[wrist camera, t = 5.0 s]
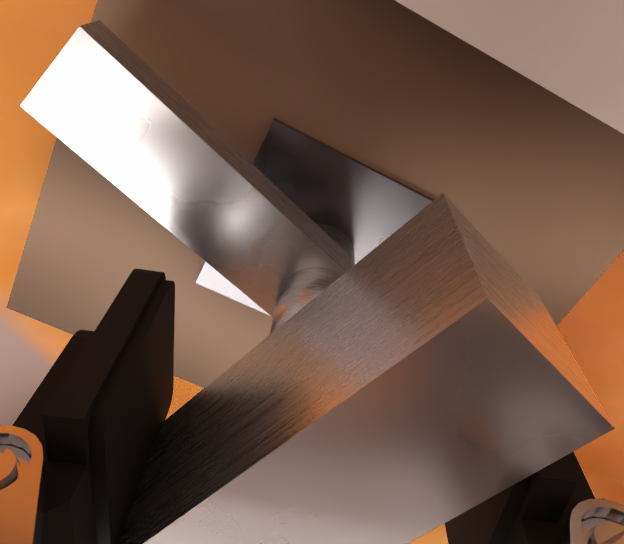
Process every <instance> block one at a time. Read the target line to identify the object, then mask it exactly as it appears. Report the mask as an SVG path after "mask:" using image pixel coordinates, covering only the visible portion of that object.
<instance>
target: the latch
mask: <svg viewBox="0 0 624 544" xmlns="http://www.w3.org/2000/svg"><path fill="white" fill-rule="evenodd" d="M20 106H21V107H22V108H23V109H24V110H25V111H27V112H28V113H29V114H30V115H31V116H33V117H34V118H35V119H36V120H37V121H39V122H40V123H41V124H42V125H43V126H44V127H46V128H47V129H48V130H49V131H50V132H52V133H53V134H54V135H55V136H56V137H58V138H59V139H60V140H61V141H62V142H64V143H65V144H66V145H67V146H68V147H70V148H71V149H72V150H73V151H74V152H76V153H77V154H78V155H79V156H80V157H82V158H83V159H84V160H85V161H86V162H87V163H89V164H90V165H91V166H92V167H93V168H95V169H96V170H97V171H98V172H99V173H101V174H102V175H103V176H104V177H105V178H107V179H108V180H109V181H110V182H111V183H113V184H114V185H115V186H116V187H117V188H119V189H120V190H121V191H122V192H123V193H125V194H126V195H127V196H128V197H129V198H130V199H132V200H133V201H134V202H135V203H136V204H138V205H139V206H140V207H141V208H142V209H144V210H145V211H146V212H147V213H148V214H150V215H151V216H152V217H153V218H154V219H156V220H157V221H158V222H159V223H160V224H162V225H163V226H164V227H165V228H166V229H167V230H169V231H170V232H171V233H172V234H173V235H175V236H176V237H177V238H178V239H179V240H181V241H182V242H183V243H184V244H185V245H187V246H188V247H189V248H190V249H191V250H193V251H194V252H195V253H196V254H197V255H199V256H200V257H201V258H202V259H203V260H205V261H206V262H207V263H208V264H209V265H210V266H212V267H213V268H214V269H215V270H216V271H218V272H219V273H220V274H221V275H222V276H224V277H225V278H226V279H227V280H228V281H230V282H231V283H232V284H233V285H234V286H236V287H237V288H238V289H239V290H240V291H242V292H243V293H244V294H245V295H246V296H248V297H249V298H250V299H251V300H252V301H253V302H255V303H256V304H257V305H258V306H259V307H261V308H262V309H263V310H264V311H265V312H267V313H268V314H269V315H270V316H271V317H273V319H272V325H271V331H270V335H269V336H268V337H266V338H265V339H264V340H263V341H261V342H260V343H259V344H258V345H257V346H255V347H254V348H253V349H252V350H250V351H249V352H248V353H247V354H246V355H244V356H243V357H242V358H241V359H239V360H238V361H237V362H236V363H235V364H233V365H232V366H231V367H230V368H229V369H227V370H226V371H225V372H224V373H222V374H221V375H220V376H219V377H218V378H216V379H215V380H214V381H213V382H211V383H210V384H209V385H208V386H207V387H205V388H204V389H203V390H202V391H200V392H199V393H198V394H197V395H196V396H194V397H193V398H192V399H191V400H190V401H188V402H187V403H186V404H185V405H183V406H182V407H181V408H180V409H179V410H177V411H176V412H175V413H174V414H172V415H171V416H170V417H169V418H168V419H166V420H165V421H164V422H163V423H162V425H161V428H160V431H159V434H158V436H157V439H156V442H155V445H154V447H153V450H152V453H151V455H150V458H149V461H148V464H147V466H146V469H145V472H144V475H143V477H142V480H141V483H140V486H139V488H138V491H137V494H136V497H135V499H134V502H133V505H132V508H131V510H130V513H129V516H128V519H127V521H126V524H125V527H124V530H123V532H122V535H121V538H120V541H119V543H118V544H408V543H410V542H412V541H414V540H415V539H417V538H419V537H421V536H423V535H424V534H426V533H428V532H430V531H432V530H433V529H435V528H437V527H439V526H441V525H442V524H444V523H446V522H448V521H449V520H451V519H453V518H455V517H457V516H458V515H460V514H462V513H464V512H466V511H467V510H469V509H471V508H473V507H475V506H476V505H478V504H480V503H482V502H484V501H485V500H487V499H489V498H491V497H493V496H494V495H496V494H498V493H500V492H501V491H503V490H505V489H507V488H509V487H510V486H512V485H514V484H516V483H518V482H519V481H521V480H523V479H525V478H527V477H528V476H530V475H532V474H534V473H536V472H537V471H539V470H541V469H543V468H545V467H546V466H548V465H550V464H552V463H553V462H555V461H557V460H559V459H561V458H562V457H564V456H566V455H568V454H570V453H571V452H573V451H575V450H577V449H579V448H580V447H582V446H584V445H586V444H588V443H589V442H591V441H593V440H595V439H597V438H598V437H600V436H602V435H604V434H605V433H607V432H609V431H611V430H613V429H614V426H613V424H612V423H611V421H610V419H609V417H608V416H607V414H606V412H605V410H604V409H603V407H602V405H601V403H600V402H599V400H598V398H597V396H596V395H595V393H594V391H593V389H592V388H591V386H590V384H589V382H588V381H587V379H586V377H585V375H584V374H583V372H582V370H581V368H580V367H579V365H578V363H577V361H576V360H575V358H574V356H573V354H572V353H571V351H570V349H569V347H568V346H567V344H566V342H565V340H564V339H563V337H562V335H561V333H560V332H559V330H558V328H557V326H556V325H555V323H554V321H553V319H552V318H551V316H550V314H549V312H548V311H547V309H546V307H545V305H544V304H543V302H542V300H541V298H540V297H539V295H538V294H537V293H536V292H535V291H534V290H533V289H532V288H531V287H530V286H529V285H528V283H527V282H526V281H525V280H524V279H523V278H522V277H521V276H520V275H519V274H518V273H517V272H516V271H515V270H514V268H513V267H512V266H511V265H510V264H509V263H508V262H507V261H506V260H505V259H504V258H503V257H502V256H501V255H500V253H499V252H498V251H497V250H496V249H495V248H494V247H493V246H492V245H491V244H490V243H489V242H488V241H487V240H486V238H485V237H484V236H483V235H482V234H481V233H480V232H479V231H478V230H477V229H476V228H475V227H474V226H473V224H472V223H471V222H470V221H469V220H468V219H467V218H466V217H465V216H464V215H463V214H462V213H461V212H460V211H459V209H458V208H457V207H456V206H455V205H454V204H453V203H452V202H451V201H450V200H449V199H448V198H447V197H446V196H445V194H444V193H442V194H441V195H439V196H438V197H437V198H436V199H434V200H433V201H432V202H431V203H430V204H428V205H427V206H426V207H425V208H424V209H422V210H421V211H420V212H419V213H417V214H416V215H415V216H414V217H413V218H411V219H410V220H409V221H408V222H406V223H405V224H404V225H403V226H402V227H400V228H399V229H398V230H397V231H395V232H394V233H393V234H392V235H391V236H389V237H388V238H387V239H386V240H385V241H383V242H382V243H381V244H380V245H378V246H377V247H376V248H375V249H374V250H372V251H371V252H370V253H369V254H367V255H366V256H365V257H364V258H363V259H361V260H360V261H359V262H358V263H356V264H355V255H354V248H353V245H352V243H351V241H350V240H349V238H348V237H347V236H346V235H345V234H344V233H343V232H342V231H340V230H338V229H337V228H334V227H332V226H329V225H323V224H316V223H315V222H314V221H313V220H312V219H311V218H310V217H309V216H308V215H306V214H305V213H304V212H303V211H302V210H301V209H300V208H299V207H298V206H297V205H296V204H295V203H294V202H293V201H292V200H291V199H289V198H288V197H287V196H286V195H285V194H284V193H283V192H282V191H281V190H280V189H279V188H278V187H277V186H276V185H275V184H274V183H272V182H271V181H270V180H269V179H268V178H267V177H266V176H265V175H264V174H263V173H262V172H261V171H260V170H259V169H258V168H257V167H255V166H254V165H253V164H252V163H251V162H250V161H249V160H248V159H247V158H246V157H245V156H244V155H243V154H242V153H241V152H240V151H238V150H237V149H236V148H235V147H234V146H233V145H232V144H231V143H230V142H229V141H228V140H227V139H226V138H225V137H224V136H222V135H221V134H220V133H219V132H218V131H217V130H216V129H215V128H214V127H213V126H212V125H211V124H210V123H209V122H208V121H207V120H205V119H204V118H203V117H202V116H201V115H200V114H199V113H198V112H197V111H196V110H195V109H194V108H193V107H192V106H191V105H190V104H188V103H187V102H186V101H185V100H184V99H183V98H182V97H181V96H180V95H179V94H178V93H177V92H176V91H175V90H174V89H173V88H171V87H170V86H169V85H168V84H167V83H166V82H165V81H164V80H163V79H162V78H161V77H160V76H159V75H158V74H157V73H156V72H154V71H153V70H152V69H151V68H150V67H149V66H148V65H147V64H146V63H145V62H144V61H143V60H142V59H141V58H140V57H139V56H137V55H136V54H135V53H134V52H133V51H132V50H131V49H130V48H129V47H128V46H127V45H126V44H125V43H124V42H123V41H122V40H120V39H119V38H118V37H117V36H116V35H115V34H114V33H113V32H112V31H111V30H110V29H109V28H108V27H107V26H106V25H104V24H103V23H102V22H101V21H100V20H97V21H94V22H91V23H88V24H85V25H82V26H79V28H78V29H77V30H76V32H75V33H74V34H73V36H72V37H71V38H70V40H69V41H68V42H67V44H66V45H65V46H64V48H63V49H62V50H61V52H60V53H59V54H58V56H57V57H56V58H55V60H54V61H53V62H52V64H51V65H50V66H49V68H48V69H47V70H46V72H45V73H44V74H43V76H42V77H41V78H40V80H39V81H38V82H37V84H36V85H35V86H34V88H33V89H32V90H31V92H30V93H29V94H28V96H27V97H26V98H25V100H24V101H23V102H22V104H21V105H20Z"/></svg>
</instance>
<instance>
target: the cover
mask: <svg viewBox="0 0 624 544" xmlns="http://www.w3.org/2000/svg"><path fill="white" fill-rule="evenodd" d="M395 1H397V2H398V3H400V4H402V5H404V6H405V7H407V8H409V9H410V10H412V11H414V12H416V13H417V14H419V15H421V16H422V17H424V18H426V19H428V20H429V21H431V22H433V23H434V24H436V25H438V26H440V27H441V28H443V29H445V30H446V31H448V32H450V33H451V34H453V35H455V36H457V37H458V38H460V39H462V40H463V41H465V42H467V43H469V44H470V45H472V46H474V47H475V48H477V49H479V50H481V51H482V52H484V53H486V54H487V55H489V56H491V57H493V58H494V59H496V60H498V61H499V62H501V63H503V64H505V65H506V66H508V67H510V68H511V69H513V70H515V71H517V72H518V73H520V74H522V75H523V76H525V77H527V78H529V79H530V80H532V81H534V82H535V83H537V84H539V85H541V86H542V87H544V88H546V89H547V90H549V91H551V92H553V93H554V94H556V95H558V96H559V97H561V98H563V99H565V100H566V101H568V102H570V103H571V104H573V105H575V106H577V107H578V108H580V109H582V110H583V111H585V112H587V113H589V114H590V115H592V116H594V117H595V118H597V119H599V120H601V121H602V122H604V123H606V124H607V125H609V126H611V127H613V128H614V129H616V130H618V131H619V132H621V133H623V134H624V0H395Z"/></svg>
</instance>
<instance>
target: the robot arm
mask: <svg viewBox="0 0 624 544" xmlns="http://www.w3.org/2000/svg"><path fill="white" fill-rule="evenodd" d="M174 320H175V282H174V281H170V280H166V276H165V273H164V272H159V271H151V270H144V269H134V270H133V271H132V272H131V274H130V275H129V277H128V278H127V280H126V282H125V283H124V285H123V286H122V288H121V290H120V291H119V293H118V294H117V296H116V298H115V299H114V301H113V302H112V304H111V306H110V307H109V309H108V310H107V312H106V314H105V315H104V317H103V318H102V320H101V321H100V323H99V325H98V326H97V328H96V329H95V331H89V330H79V331H77V332H76V333H75V334H74V335H73V337H72V338H71V340H70V341H69V343H68V344H67V345H66V347H65V348H64V350H63V351H62V353H61V354H60V356H59V357H58V359H57V360H56V362H55V363H54V365H53V366H52V368H51V369H50V371H49V372H48V374H47V375H46V377H45V378H44V380H43V381H42V383H41V384H40V386H39V387H38V388H37V390H36V392H35V393H34V394H33V396H32V398H31V399H30V400H29V402H28V403H27V405H26V406H25V408H24V409H23V411H22V412H21V414H20V415H19V417H18V418H17V420H16V421H15V423H14V424H13V426H11V425H8V426H7V425H6V426H5V425H4V426H3V425H1V426H0V544H118V543H119V541H120V538H121V535H122V532H123V530H124V527H125V524H126V521H127V519H128V516H129V513H130V510H131V508H132V505H133V502H134V499H135V497H136V494H137V491H138V488H139V486H140V483H141V480H142V477H143V475H144V472H145V469H146V466H147V464H148V461H149V458H150V455H151V453H152V450H153V447H154V445H155V442H156V439H157V436H158V434H159V431H160V428H161V425H162V423H163V422H164V421H165V419H166V416H167V413H168V410H169V408H170V404H171V400H172V394H173V371H174ZM445 526H446V532H447V537H448V543H449V544H624V505H622V504H620V503H617V502H613V501H609V500H605V499H595V497H594V495H593V493H592V491H591V489H590V487H589V485H588V482H587V480H586V478H585V476H584V474H583V472H582V469H581V467H580V465H579V463H578V461H577V459H576V456H575V454H574V452H571V453H570V454H568V455H566V456H564V457H562V458H561V459H559V460H557V461H555V462H553V463H552V464H550V465H548V466H546V467H545V468H543V469H541V470H539V471H537V472H536V473H534V474H532V475H530V476H528V477H527V478H525V479H523V480H521V481H519V482H518V483H516V484H514V485H512V486H510V487H509V488H507V489H505V490H503V491H501V492H500V493H498V494H496V495H494V496H493V497H491V498H489V499H487V500H485V501H484V502H482V503H480V504H478V505H476V506H475V507H473V508H471V509H469V510H467V511H466V512H464V513H462V514H460V515H458V516H457V517H455V518H453V519H451V520H449V521H448V522H446V523H445Z"/></svg>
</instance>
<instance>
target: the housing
mask: <svg viewBox="0 0 624 544" xmlns="http://www.w3.org/2000/svg"><path fill="white" fill-rule="evenodd" d="M97 20H100V21H101V22H102V23H103V24H104V25H106V26H107V27H108V28H109V29H110V30H111V31H112V32H113V33H114V34H115V35H116V36H117V37H118V38H119V39H120V40H122V41H123V42H124V43H125V44H126V45H127V46H128V47H129V48H130V49H131V50H132V51H133V52H134V53H135V54H136V55H137V56H139V57H140V58H141V59H142V60H143V61H144V62H145V63H146V64H147V65H148V66H149V67H150V68H151V69H152V70H153V71H154V72H156V73H157V74H158V75H159V76H160V77H161V78H162V79H163V80H164V81H165V82H166V83H167V84H168V85H169V86H170V87H171V88H173V89H174V90H175V91H176V92H177V93H178V94H179V95H180V96H181V97H182V98H183V99H184V100H185V101H186V102H187V103H188V104H190V105H191V106H192V107H193V108H194V109H195V110H196V111H197V112H198V113H199V114H200V115H201V116H202V117H203V118H204V119H205V120H207V121H208V122H209V123H210V124H211V125H212V126H213V127H214V128H215V129H216V130H217V131H218V132H219V133H220V134H221V135H222V136H224V137H225V138H226V139H227V140H228V141H229V142H230V143H231V144H232V145H233V146H234V147H235V148H236V149H237V150H238V151H240V152H241V153H242V154H243V155H244V156H245V157H246V158H247V159H248V160H249V161H250V162H251V163H252V164H253V165H254V166H255V167H257V168H258V169H259V170H260V171H261V172H262V173H263V174H264V175H265V176H266V177H267V178H268V179H269V180H270V181H271V182H272V183H274V184H275V185H276V186H277V187H278V188H279V189H280V190H281V191H282V192H283V193H284V194H285V195H286V196H287V197H288V198H289V199H291V200H292V201H293V202H294V203H295V204H296V205H297V206H298V207H299V208H300V209H301V210H302V211H303V212H304V213H305V214H306V215H308V216H309V217H310V218H311V219H312V220H313V221H314V222H315V223H316V224H323V225H329V226H332V227H334V228H337V229H338V230H340V231H342V232H343V233H344V234H345V235H346V236H347V237H348V238H349V240H350V241H351V243H352V245H353V248H354V255H355V264H356V263H358V262H359V261H360V260H361V259H363V258H364V257H365V256H366V255H367V254H369V253H370V252H371V251H372V250H374V249H375V248H376V247H377V246H378V245H380V244H381V243H382V242H383V241H385V240H386V239H387V238H388V237H389V236H391V235H392V234H393V233H394V232H395V231H397V230H398V229H399V228H400V227H402V226H403V225H404V224H405V223H406V222H408V221H409V220H410V219H411V218H413V217H414V216H415V215H416V214H417V213H419V212H420V211H421V210H422V209H424V208H425V207H426V206H427V205H428V204H430V203H431V202H432V201H433V200H434V199H436V198H437V197H438V196H439V195H441V194H442V193H444V194H445V196H446V197H447V198H448V199H449V200H450V201H451V202H452V203H453V204H454V205H455V206H456V207H457V208H458V209H459V211H460V212H461V213H462V214H463V215H464V216H465V217H466V218H467V219H468V220H469V221H470V222H471V223H472V224H473V226H474V227H475V228H476V229H477V230H478V231H479V232H480V233H481V234H482V235H483V236H484V237H485V238H486V240H487V241H488V242H489V243H490V244H491V245H492V246H493V247H494V248H495V249H496V250H497V251H498V252H499V253H500V255H501V256H502V257H503V258H504V259H505V260H506V261H507V262H508V263H509V264H510V265H511V266H512V267H513V268H514V270H515V271H516V272H517V273H518V274H519V275H520V276H521V277H522V278H523V279H524V280H525V281H526V282H527V283H528V285H529V286H530V287H531V288H532V289H533V290H534V291H535V292H536V293H537V294H538V295H539V297H540V298H541V300H542V302H543V304H544V305H545V307H546V309H547V311H548V312H549V314H550V316H551V318H552V319H553V321H554V323H555V325H556V326H557V325H558V324H559V323H560V321H561V320H562V319H563V318H564V317H565V316H566V315H567V314H568V312H569V311H570V310H571V309H572V308H573V307H574V306H575V305H576V303H577V302H578V301H579V300H580V299H581V298H582V297H583V295H584V294H585V293H586V292H587V291H588V290H589V289H590V288H591V286H592V285H593V284H594V283H595V282H596V281H597V280H598V279H599V277H600V276H601V275H602V274H603V273H604V272H605V271H606V270H607V268H608V267H609V266H610V265H611V264H612V263H613V262H614V261H615V259H616V258H617V257H618V256H619V255H620V254H621V253H622V251H623V250H624V134H623V133H621V132H619V131H618V130H616V129H614V128H613V127H611V126H609V125H607V124H606V123H604V122H602V121H601V120H599V119H597V118H595V117H594V116H592V115H590V114H589V113H587V112H585V111H583V110H582V109H580V108H578V107H577V106H575V105H573V104H571V103H570V102H568V101H566V100H565V99H563V98H561V97H559V96H558V95H556V94H554V93H553V92H551V91H549V90H547V89H546V88H544V87H542V86H541V85H539V84H537V83H535V82H534V81H532V80H530V79H529V78H527V77H525V76H523V75H522V74H520V73H518V72H517V71H515V70H513V69H511V68H510V67H508V66H506V65H505V64H503V63H501V62H499V61H498V60H496V59H494V58H493V57H491V56H489V55H487V54H486V53H484V52H482V51H481V50H479V49H477V48H475V47H474V46H472V45H470V44H469V43H467V42H465V41H463V40H462V39H460V38H458V37H457V36H455V35H453V34H451V33H450V32H448V31H446V30H445V29H443V28H441V27H440V26H438V25H436V24H434V23H433V22H431V21H429V20H428V19H426V18H424V17H422V16H421V15H419V14H417V13H416V12H414V11H412V10H410V9H409V8H407V7H405V6H404V5H402V4H400V3H398V2H397V1H395V0H98V2H97V5H96V8H95V12H94V15H93V19H92V22H94V21H97ZM134 269H144V270H151V271H159V272H164V273H165V276H166V280H170V281H174V282H175V320H174V371H173V375H174V376H176V377H179V378H181V379H184V380H186V381H189V382H191V383H194V384H196V385H199V386H201V387H204V388H205V387H207V386H208V385H209V384H210V383H211V382H213V381H214V380H215V379H216V378H218V377H219V376H220V375H221V374H222V373H224V372H225V371H226V370H227V369H229V368H230V367H231V366H232V365H233V364H235V363H236V362H237V361H238V360H239V359H241V358H242V357H243V356H244V355H246V354H247V353H248V352H249V351H250V350H252V349H253V348H254V347H255V346H257V345H258V344H259V343H260V342H261V341H263V340H264V339H265V338H266V337H268V336H269V335H270V331H271V325H272V319H273V317H271V316H270V315H269V314H268V313H267V312H265V311H264V310H263V309H262V308H261V307H259V306H258V305H257V304H256V303H255V302H253V301H252V300H251V299H250V298H249V297H248V296H246V295H245V294H244V293H243V292H242V291H240V290H239V289H238V288H237V287H236V286H234V285H233V284H232V283H231V282H230V281H228V280H227V279H226V278H225V277H224V276H222V275H221V274H220V273H219V272H218V271H216V270H215V269H214V268H213V267H212V266H210V265H209V264H208V263H207V262H206V261H205V260H203V259H202V258H201V257H200V256H199V255H197V254H196V253H195V252H194V251H193V250H191V249H190V248H189V247H188V246H187V245H185V244H184V243H183V242H182V241H181V240H179V239H178V238H177V237H176V236H175V235H173V234H172V233H171V232H170V231H169V230H167V229H166V228H165V227H164V226H163V225H162V224H160V223H159V222H158V221H157V220H156V219H154V218H153V217H152V216H151V215H150V214H148V213H147V212H146V211H145V210H144V209H142V208H141V207H140V206H139V205H138V204H136V203H135V202H134V201H133V200H132V199H130V198H129V197H128V196H127V195H126V194H125V193H123V192H122V191H121V190H120V189H119V188H117V187H116V186H115V185H114V184H113V183H111V182H110V181H109V180H108V179H107V178H105V177H104V176H103V175H102V174H101V173H99V172H98V171H97V170H96V169H95V168H93V167H92V166H91V165H90V164H89V163H87V162H86V161H85V160H84V159H83V158H82V157H80V156H79V155H78V154H77V153H76V152H74V151H73V150H72V149H71V148H70V147H68V146H67V145H66V144H65V143H64V142H62V141H61V140H60V139H59V138H58V137H57V140H56V143H55V146H54V150H53V153H52V157H51V160H50V163H49V167H48V170H47V173H46V177H45V180H44V183H43V187H42V190H41V194H40V197H39V200H38V204H37V207H36V210H35V214H34V217H33V220H32V224H31V227H30V231H29V234H28V237H27V241H26V244H25V247H24V251H23V254H22V257H21V261H20V264H19V268H18V271H17V274H16V278H15V281H14V284H13V288H12V291H11V295H10V298H9V301H8V305H7V308H9V309H11V310H14V311H16V312H19V313H21V314H24V315H26V316H28V317H31V318H33V319H36V320H38V321H41V322H43V323H46V324H48V325H51V326H53V327H56V328H58V329H61V330H63V331H65V332H68V333H70V334H73V335H74V334H75V333H76V332H77V331H79V330H89V331H95V329H96V328H97V326H98V325H99V323H100V321H101V320H102V318H103V317H104V315H105V314H106V312H107V310H108V309H109V307H110V306H111V304H112V302H113V301H114V299H115V298H116V296H117V294H118V293H119V291H120V290H121V288H122V286H123V285H124V283H125V282H126V280H127V278H128V277H129V275H130V274H131V272H132V271H133V270H134Z"/></svg>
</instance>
